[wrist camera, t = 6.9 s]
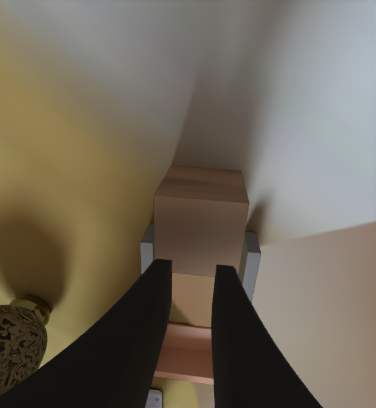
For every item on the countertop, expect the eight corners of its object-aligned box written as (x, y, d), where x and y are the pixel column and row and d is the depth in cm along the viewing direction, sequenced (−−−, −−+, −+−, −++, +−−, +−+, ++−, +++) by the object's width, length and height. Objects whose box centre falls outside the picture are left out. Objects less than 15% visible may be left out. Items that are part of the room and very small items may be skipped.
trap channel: (233, 358, 24) (235, 387, 21) (153, 348, 24) (147, 375, 22) (255, 232, 18) (261, 253, 16) (149, 223, 18) (140, 242, 16)
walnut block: (232, 231, 18) (237, 279, 14) (170, 225, 18) (154, 270, 14) (240, 170, 16) (249, 203, 12) (170, 165, 17) (153, 195, 12)
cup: (21, 337, 26) (-55, 435, 19) (-20, 281, 23) (-129, 371, 16) (86, 330, 24) (30, 434, 17) (50, 270, 21) (-35, 363, 14)
